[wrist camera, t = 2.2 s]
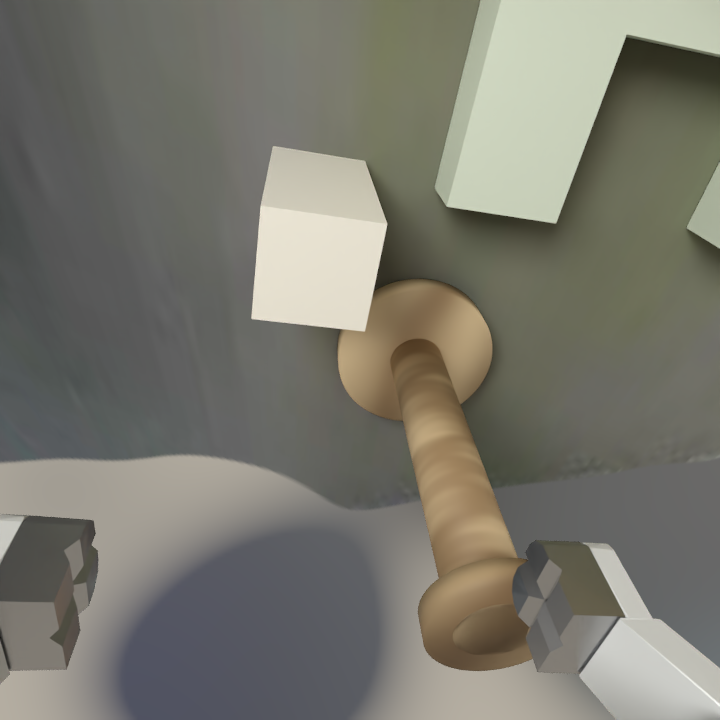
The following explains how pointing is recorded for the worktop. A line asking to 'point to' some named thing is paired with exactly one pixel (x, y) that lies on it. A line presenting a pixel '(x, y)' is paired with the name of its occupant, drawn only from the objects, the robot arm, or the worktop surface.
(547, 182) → the notched board
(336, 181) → the block
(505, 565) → the bobbin post
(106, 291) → the worktop surface
